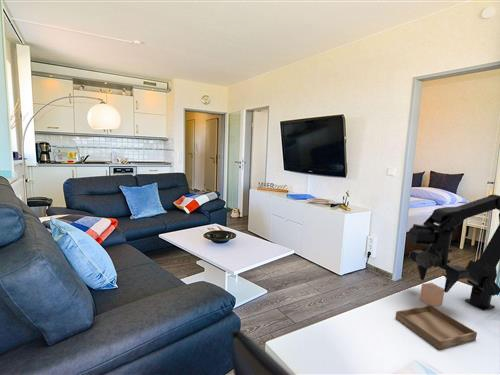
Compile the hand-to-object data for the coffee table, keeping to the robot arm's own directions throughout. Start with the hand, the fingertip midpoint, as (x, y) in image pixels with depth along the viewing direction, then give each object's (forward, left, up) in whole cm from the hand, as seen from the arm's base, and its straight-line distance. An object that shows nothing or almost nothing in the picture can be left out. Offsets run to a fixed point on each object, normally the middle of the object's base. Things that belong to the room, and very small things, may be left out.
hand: (433, 285), depth 104 cm
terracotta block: (0, 0, -6) cm, 6 cm away
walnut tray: (+14, +12, -6) cm, 20 cm away
